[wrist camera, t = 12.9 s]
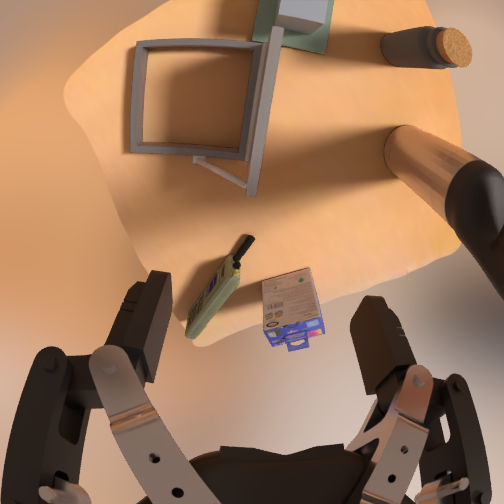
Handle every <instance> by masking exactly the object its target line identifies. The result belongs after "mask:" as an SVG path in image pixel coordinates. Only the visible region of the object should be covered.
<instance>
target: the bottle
mask: <svg viewBox="0 0 504 504" xmlns="http://www.w3.org/2000/svg"><path fill="white" fill-rule="evenodd" d="M381 51H382V53H383V55H384V57H385V58H386V60H387V61H388V62H389V63H391V64H392V65H394V66H397V67H404V68H427V69H445V68H447V67H450V68H455V67H458V66H459V67H467V66H468V65H469V64H470V63H471V60H472V49H471V46H470V44H469V42H468V40H467V39H466V37H465V36H464V35H463V34H462V33H461V32H460V31H459V30H457V29H454V28H444V27H437V28H434V27H431V26H425V27H418V28H412V29H407V30H402V31H398V32H394V33H390V34H387V35H386V36H384V37H383V39H382V41H381Z"/></svg>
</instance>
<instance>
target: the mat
mask: <svg viewBox="0 0 504 504" xmlns="http://www.w3.org/2000/svg"><path fill="white" fill-rule="evenodd" d="M277 4H278V0H259V2H258V8H257V13H256V19H255V24H254V30H253V36H252V41H253V42H260V43H267V42H268V39H269V36H270V33H271V30H272V27H273V26H274V22H275V16H276V10H277ZM333 5H334V0H328V4H327V11H326V17H325V23H324V25H322V26H321V27H320V28H318V29H317V30H316V31H315V32H313V33H312V34H311V35H309V34H305V33H300V32H295V31H290V30H284V33H283V38H282V44H281V46H286V47H291V48H296V49H301V50H305V51H310V52H314V53H318V54H322V55H325V52H326V47H327V41H328V35H329V29H330V23H331V17H332V11H333Z"/></svg>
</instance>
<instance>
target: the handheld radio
mask: <svg viewBox="0 0 504 504" xmlns="http://www.w3.org/2000/svg"><path fill="white" fill-rule="evenodd" d="M254 240H255V238H254V237H253V236H252V235H249V236H248V237H247V238H246V240H245V241H244V243H243V244H242V245H241V247H240V248H239V250H238V251H237V253H236V254H235V255H232V254H230V255H228V257H227V258H226V259H225V261H224V262H223V264H222V265H221V266H220V268H219V269H218V270H217V272H216V273H215V275H214V276H213V278H212V279H211V280H210V282H209V283H208V285H207V286H206V288H205V289H204V291H203V292H202V294H201V295H200V297H199V298H198V300H197V301H196V303H195V304H194V306H193V307H192V309H191V310H190V312H189V314H188V319H187V325H186V331H185V336H186V337H187V338H190V339H195V338H196V337H198V335H199V334H200V333H201V332H202V331H203V329H204V328H205V327H206V326H207V324H208V322H209V321H210V320H211V319H212V317H213V316H214V315H215V314H216V312H217V311H218V310H219V309H220V307H221V306H222V305H223V304H224V302H225V301H226V300H227V299H228V297H229V296H230V295H231V294H232V292H233V291H234V290H235V288H236V287H237V286H238V285H239V283H240V267H241V264H240V259H241V257H242V256H243V255H244V254H245V253H246V251H247V250H248V248H249V247H250V246H251V244H252V243H253V242H254Z"/></svg>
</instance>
